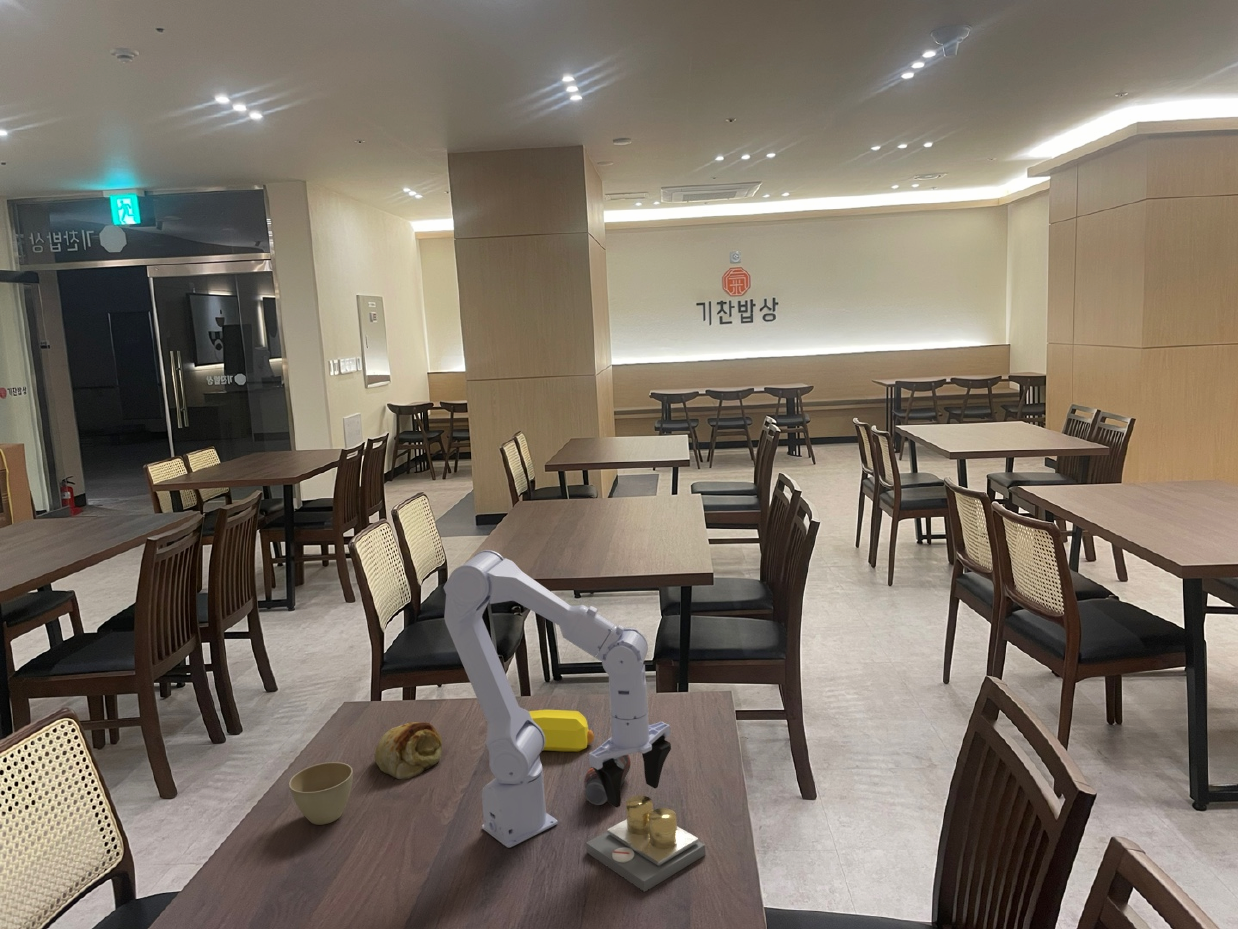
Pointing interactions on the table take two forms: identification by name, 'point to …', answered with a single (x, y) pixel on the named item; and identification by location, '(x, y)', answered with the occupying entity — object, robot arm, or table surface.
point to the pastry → (408, 750)
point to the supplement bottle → (594, 784)
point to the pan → (644, 846)
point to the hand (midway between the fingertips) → (633, 795)
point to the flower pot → (322, 791)
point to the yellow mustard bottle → (563, 729)
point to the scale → (639, 861)
